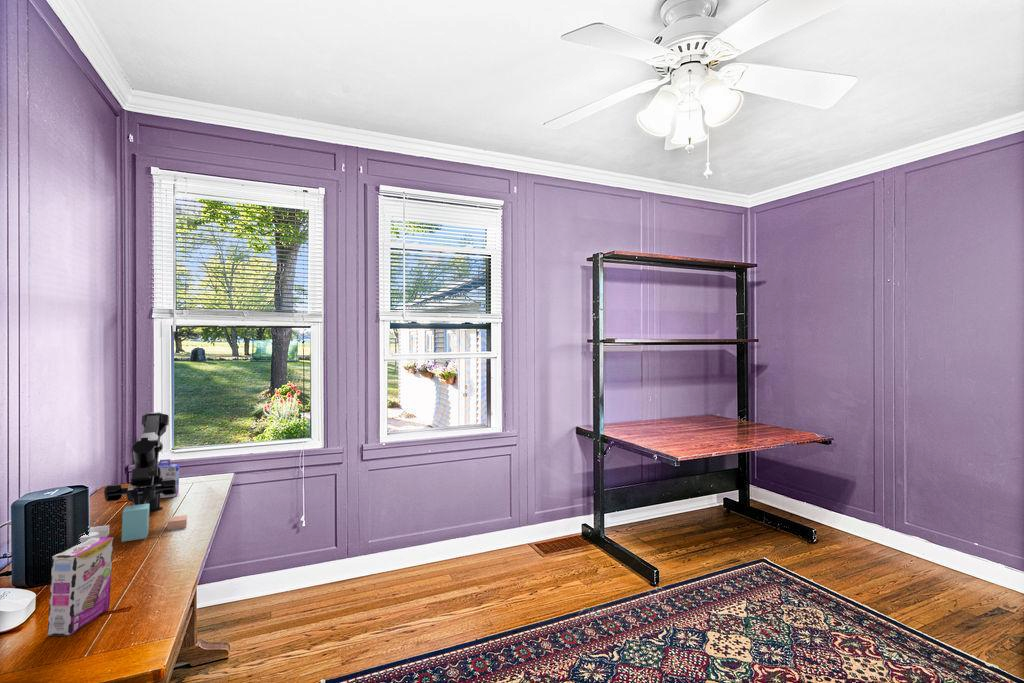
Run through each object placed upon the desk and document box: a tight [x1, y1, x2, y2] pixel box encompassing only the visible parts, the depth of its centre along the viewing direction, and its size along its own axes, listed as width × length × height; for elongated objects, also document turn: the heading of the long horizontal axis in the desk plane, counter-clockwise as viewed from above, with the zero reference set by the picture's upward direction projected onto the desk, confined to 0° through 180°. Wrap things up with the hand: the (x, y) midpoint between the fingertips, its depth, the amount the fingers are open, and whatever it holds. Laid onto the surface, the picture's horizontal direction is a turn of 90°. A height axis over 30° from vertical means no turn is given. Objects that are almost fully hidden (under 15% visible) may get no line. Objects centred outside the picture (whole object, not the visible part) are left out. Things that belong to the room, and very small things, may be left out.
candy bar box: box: [47, 536, 114, 637], centre depth 107 cm, size 11×5×16 cm, turn 5°
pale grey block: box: [90, 524, 110, 537], centre depth 150 cm, size 5×5×4 cm
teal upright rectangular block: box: [121, 503, 150, 543], centre depth 151 cm, size 6×6×9 cm
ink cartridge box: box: [158, 458, 180, 499], centre depth 197 cm, size 10×6×14 cm, turn 112°
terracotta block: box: [166, 514, 188, 531], centre depth 161 cm, size 5×5×4 cm
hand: (138, 513), depth 156 cm, fingers closed
